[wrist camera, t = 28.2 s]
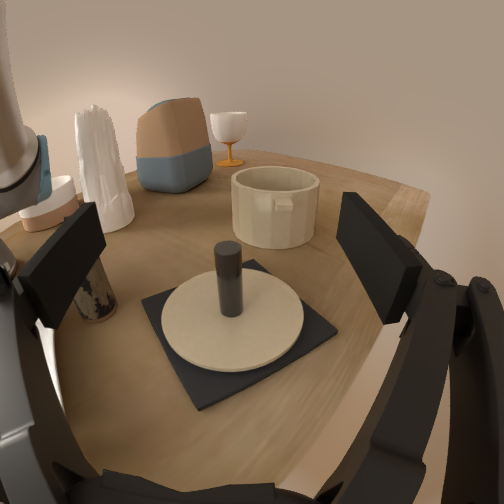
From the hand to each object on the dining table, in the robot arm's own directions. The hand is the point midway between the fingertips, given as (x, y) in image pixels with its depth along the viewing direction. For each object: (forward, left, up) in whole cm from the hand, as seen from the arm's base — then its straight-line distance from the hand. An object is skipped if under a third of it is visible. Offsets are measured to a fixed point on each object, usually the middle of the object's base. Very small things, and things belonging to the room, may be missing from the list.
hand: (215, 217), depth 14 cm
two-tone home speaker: (-59, +16, -18) cm, 64 cm away
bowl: (-63, -20, -18) cm, 68 cm away
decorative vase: (-46, -4, -18) cm, 49 cm away
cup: (-69, +38, -18) cm, 81 cm away
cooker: (-24, +22, -18) cm, 37 cm away
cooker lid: (-8, +5, -16) cm, 19 cm away
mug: (-20, -10, -18) cm, 28 cm away
